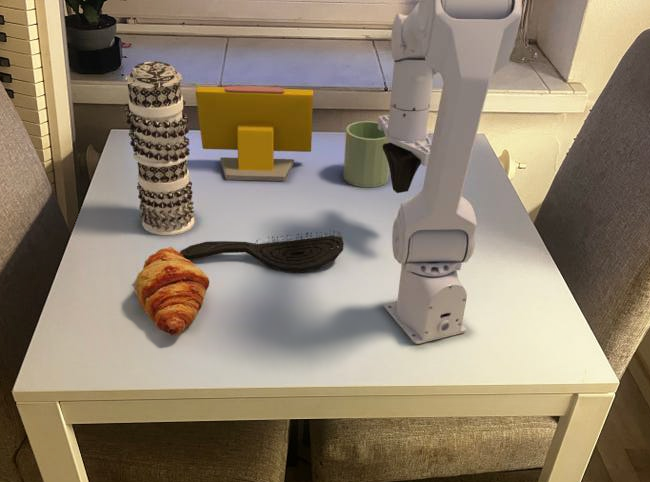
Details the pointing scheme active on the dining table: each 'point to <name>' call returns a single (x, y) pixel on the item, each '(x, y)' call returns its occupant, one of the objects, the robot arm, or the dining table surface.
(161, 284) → the croissant
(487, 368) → the dining table surface
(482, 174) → the dining table surface
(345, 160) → the coffee cup
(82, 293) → the dining table surface
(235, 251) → the hairbrush
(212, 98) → the yellow framed monitor
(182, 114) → the decorative candle
